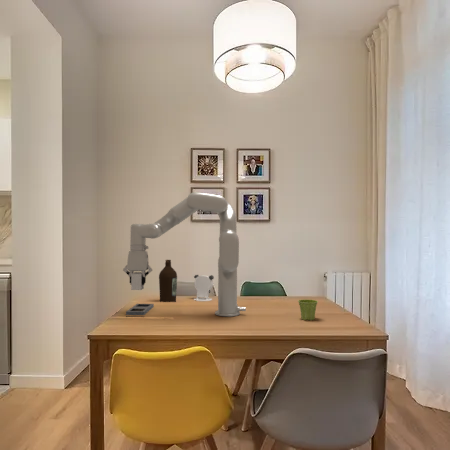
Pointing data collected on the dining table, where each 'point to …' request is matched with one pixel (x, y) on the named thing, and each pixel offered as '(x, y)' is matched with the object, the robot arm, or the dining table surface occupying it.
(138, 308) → the rail
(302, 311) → the plant pot
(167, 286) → the olive oil
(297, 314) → the dining table surface
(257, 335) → the dining table surface
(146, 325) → the dining table surface
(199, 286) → the panda figurine
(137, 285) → the block
